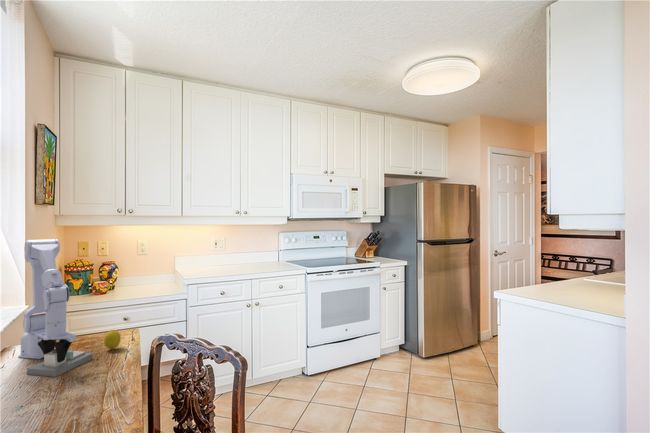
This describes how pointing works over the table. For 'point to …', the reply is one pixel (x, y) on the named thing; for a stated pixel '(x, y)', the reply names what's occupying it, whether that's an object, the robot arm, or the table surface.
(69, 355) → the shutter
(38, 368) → the socket plate
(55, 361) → the plug
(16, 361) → the table surface
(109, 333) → the lemon
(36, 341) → the robot arm
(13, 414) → the table surface
